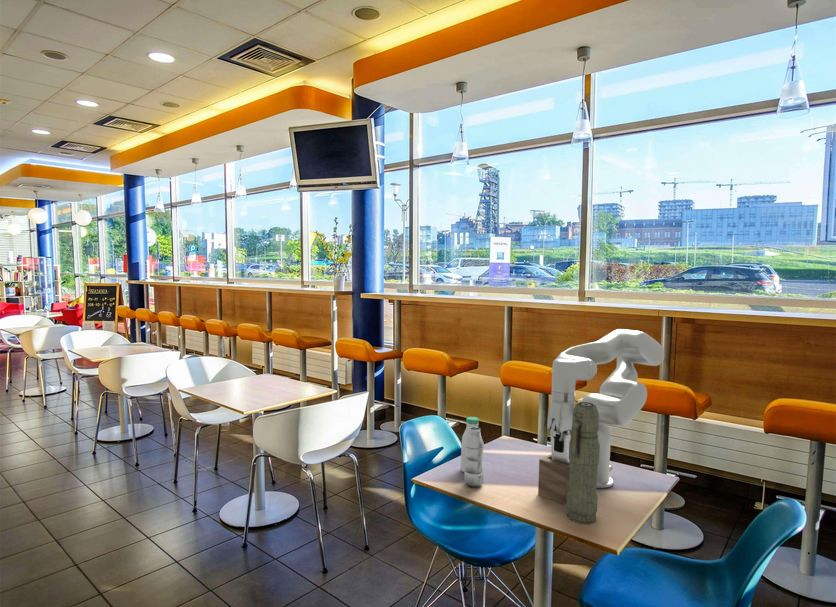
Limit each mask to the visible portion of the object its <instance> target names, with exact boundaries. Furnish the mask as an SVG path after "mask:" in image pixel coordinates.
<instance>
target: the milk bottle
mask: <svg viewBox="0 0 836 607" xmlns="http://www.w3.org/2000/svg"><path fill="white" fill-rule="evenodd" d="M465 422H466V423H465V424H466V428H465V430H464V432H463V434H462V438H461V450H460V470H461V472H462V473H464V474H465V471H466V449H465V441H466V439H467V438H468V437H469V435H470V434H469V432H470V428H471V427H478V428H479V422H480V420H479V417H477V416H468V417H466V418H465ZM480 437H481V438H482V435H481V434H480Z"/></svg>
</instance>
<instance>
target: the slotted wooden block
mask: <svg viewBox="0 0 836 607" xmlns="http://www.w3.org/2000/svg"><path fill="white" fill-rule="evenodd" d="M538 460H539V463H538V482H537V483H538V489H537V490H538V491H537V494H538V496H541V497H544V498H547V499H550V500H551V501H555V502H556V503H559V504H562V505H567V493H568V490H569V477H570V464H569V465H566V464H563V463H560V462H557V461H554V460H552V453H551V454H549V455H546V456H544V457H542V458H539V459H538Z"/></svg>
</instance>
